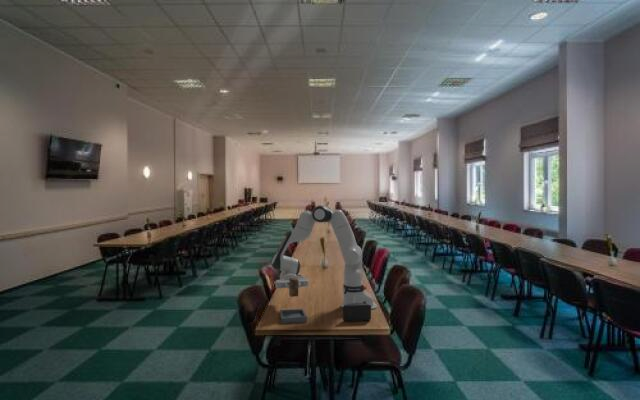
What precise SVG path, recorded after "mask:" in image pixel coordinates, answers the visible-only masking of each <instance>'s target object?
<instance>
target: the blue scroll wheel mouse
mask: <svg viewBox="0 0 640 400" xmlns="http://www.w3.org/2000/svg"><path fill="white" fill-rule="evenodd" d="M371 319H372V309H371V305H369V304H365V303H352V304H346V305H344V306H343V307H342V320H343V321H344V322H366V321H367V322H368V321H370V320H371Z"/></svg>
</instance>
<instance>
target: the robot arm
mask: <svg viewBox="0 0 640 400" xmlns="http://www.w3.org/2000/svg"><path fill="white" fill-rule="evenodd" d="M316 223H329V224H330V226H331V228H332V230H333V233H334V235H335V237H336V238H335V239H337V242H338V246H339V249H340V253H341V255H342V257H343V261H344V271H343V273H344V274H343V277H344V278H343V287H342V290H343V291H342V293H343V295H342V296H343V297H342V302H341V308H343V306H344V305H346V304H352V303H365V304H369V305H371V310H373V309H374V310H375V309H377V308H378V306H377V304H376V303H375V302H374V299H373V297H372V296H371V294H370V293H368V292H367V291H366V290H367V286H365V285H364V284H362V269H363V250H362V248H361V246H359V245H358V243H357V240H356V237H355V234H354V232H353V229H352V227H351V225H350V222H349V220H348V218H347V217H346V214H345V213H344V212H343V210H341V209H334V210H331V208H330V207H329V206H328V205H324V204H320V205H317V206H314V208H313V210H312V211H308V210H304V211H302V212H301V213H300V215H299V216H298V219H297V222H296V224H295V226H294V228H293V229H292V230H291V231H289V232H287V234H286V235H285V237H284V239H283V240H282V242H281V244H280V246H279V248H278V249H277V251H276V253H275V255H274V256H273V257H272V260H271V266H272V268H273V269H274V270H277V271H281V272H280V274H279V279H276V280H275V281H274V282H273V284H274V285H275V289H289V288H290V285H289V278H297V279H298V289H299V288H301V287H302V288H304V287H305V288H306V287H308V286H309V279H308V278H306V277H305V276H304V275H302V274H299V273H300V271H301V262H300V259H298V258H295V257H291V256H287V255H284V254H285V253H286V251H287V249H288V247H289V246H290V244H292V243H299V242H303V241H306V240H308V239H309V238H310V237H311V235H312V231H313V229H314V227H315V224H316Z"/></svg>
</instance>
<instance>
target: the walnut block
mask: <svg viewBox="0 0 640 400" xmlns="http://www.w3.org/2000/svg"><path fill="white" fill-rule="evenodd" d="M289 285H290V288H288V291H289V292H288V294H289V296H290V297H291V298H293V297H299V288H298V279H297V278H289Z"/></svg>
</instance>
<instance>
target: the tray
mask: <svg viewBox="0 0 640 400" xmlns="http://www.w3.org/2000/svg"><path fill="white" fill-rule="evenodd" d="M279 316H280V321H281V324H297V323H308V316H307V314H306V311H305V309H304V308H298V309H296V308H294V309H280V310H279Z"/></svg>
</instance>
